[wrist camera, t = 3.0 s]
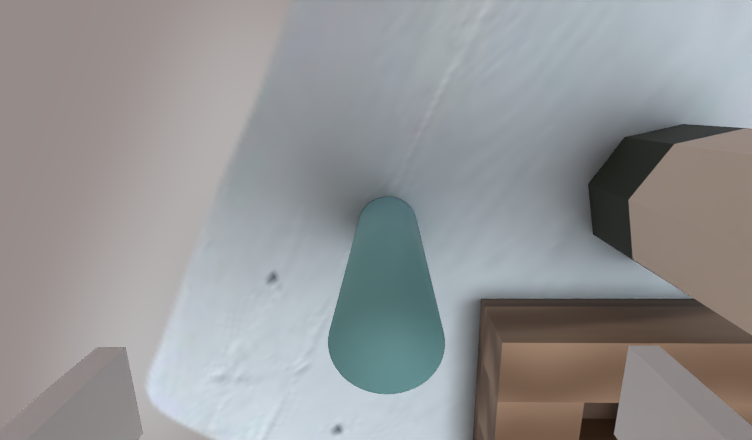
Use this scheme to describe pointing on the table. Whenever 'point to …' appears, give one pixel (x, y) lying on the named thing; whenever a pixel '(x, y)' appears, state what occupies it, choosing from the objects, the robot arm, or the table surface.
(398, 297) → the pin
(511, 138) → the table surface
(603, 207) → the wine bottle
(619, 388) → the bore block
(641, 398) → the robot arm
